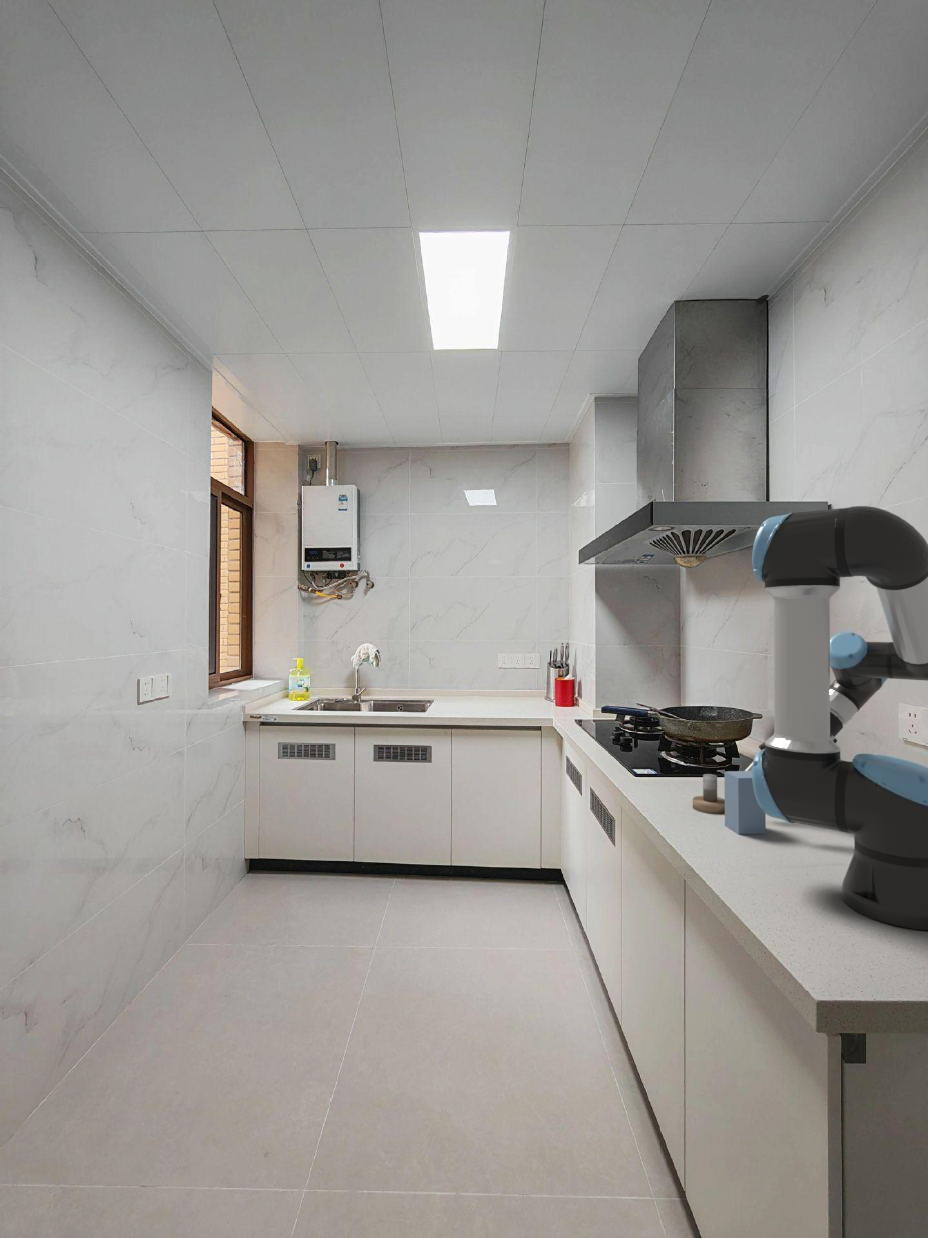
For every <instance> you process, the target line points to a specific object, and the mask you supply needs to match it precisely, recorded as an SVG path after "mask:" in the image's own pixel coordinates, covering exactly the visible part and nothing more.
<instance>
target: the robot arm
mask: <svg viewBox="0 0 928 1238" xmlns="http://www.w3.org/2000/svg"><path fill="white" fill-rule="evenodd" d="M751 555H752V557H751V559H752V560H751V562H752V567H753V568H752V569H753V575H754V577H755V579H757V580H758V581H759V582H762V583H764V591H765V593H767V594H768V595H769V596H770V597H772V599H773V603H774V604H773V605H774V607H773V608H774V609H773V610H774V611H773V613H774V614H773V615H774V617H773V619H774V620H773V621H774V624H773V625H774V627H773V628H774V631H773V633H774V636H773V638H774V641H773V643H774V647H773V648H774V655H773V656H774V657H773V660H774V663H773V665H774V667H773V668H774V671H773V672H774V675H773V676H774V677H773V678H774V682H773V683H774V685H773V686H774V687H773V688H774V694H773V695H774V699H773V700H774V702H773V703H774V704H773V705H774V715H773V717H774V721H773V722H774V728H773V729H774V732H773V734H772V735H771V736H770V737H769V738H768V739H767V740H764V742H763V743H761V744H759V746H758V748H759V749H760V750H759V751H757V752H756V753H755V756H754V758H753V760H752V763H750V765H749V766H748V767H747V768H745V770H744V771H752V780H753V788H754V793H755V797H756V800H757V802H758V804H759V806H760V807H761V809H762V810H763V812H764V813H766V815H767V816H768V817H771V818H773V819H778V820H781V821H785V822H787V823H790V824H799V825H800V824H801V825H805V826H811V827H816V828H821V829H827V830H832V831H837V832H840V833H841V832H842V833H846V834H851V835H853V836H854V852H853V854H852V858H851V860H850V862H849V865H848V868H847V870H846V872H845V876H844V878H843V880H842V886H841V887H842V888H841V889H842V890H841V892H842V894H841V895H842V900H843V901H844V903H845V904H846V905H847V906H848V907H850V908H851V909H853V910H854V911H856V912H858V913H860V914H861V915H864V916H866V917H868V918H870V919H873V920H876V921H879V922H882V923H886V924H889V925H893V926H897V927H901V928H906V929H912V930H922V931H928V767H926V766H924V765H922V764H919V763H916V762H913V761H910V760H906V759H902V758H899V757H894V756H888V755H884V754H873V753H858V754H855V755H854V757H853V759H852V761H847V760H843V759H841V747H840V746H839V745H838V744H837V742H838V739H837V738H836V736H837V735H838V734H839V733H840V732H841V731H842V729H843V728H844V725H847V724H848V722H850V721H851V720H852V719H853V717H854V716H855V715H856V714H857V713H858V712H859V711H860V710H861V709H862V708H863V707H864V705H866V703H867V702H869V700H870V699H871V698H872V697H873V696H874V695H875V694H876V693H877V692H878V691H879V690H880V689H881V688H882V687H883V686H884V684H885V683H886V681H888V679H891V680H892V679H894V680H911V681H925V682H927V681H928V542H927V540H926V539H925V537H924V536H923V535H922V534H921V533H920V531H918V529H916V528H915V527H914V526H913V525H911V524H910V522H908V521H907V520H906V519H904V518H902V517H900V516H899V515H896V514H894V513H893V512H890V511H888V510H885V509H882V508H880V507H875V506H868V505H857V506H849V507H843V508H841V507H840V508H832V509H831V508H830V509H820V510H812V511H811V510H810V511H798V512H790V513H787V514H782V515H775V516H772V517H769V518H767V519H766V520H764V521H763V522H762V523H761V525H760V526H759V528H758V530H757V532H756V534H755V538H754V541H753V546H752V554H751ZM852 577H865V578H866V580H867V581H868V582H869V583H870V584H871V585H872V586H873V587H875V588H876V591H877V594H878V597H879V600H880V603H881V608H882V610H883V613H884V616H885V620H886V623H887V624H886V625H887V626H888V630H889V633H890V637H891V640H892V641H865V639H864V638H863V637H862V636H861V635H860V634H859V633H855V632H851V631H845V632H839V633H836V634H835V635H833V636H831V633H830V631H831V626H830V625H831V619H830V618H831V615H830V614H831V612H830V611H831V608H830V607H831V605H830V602H831V598H832V596H833V595H835V594H836V593H837V592H838V591H839V590H840V589H841V578H852ZM831 670H832V672H833V675H834V677H835V679H834V681H833V682H832V683H831Z"/></svg>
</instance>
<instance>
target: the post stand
mask: <svg viewBox="0 0 928 1238" xmlns="http://www.w3.org/2000/svg"><path fill="white" fill-rule="evenodd" d="M692 808H693V810H696V811H697V812H701V813H706V814H714V815H716V814H717V815H719V814H725V798H722V797H719V796H718V775H716V774H712V773H705V774H703V775H702V795H696V796H693V798H692Z"/></svg>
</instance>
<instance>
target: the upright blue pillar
mask: <svg viewBox="0 0 928 1238" xmlns="http://www.w3.org/2000/svg"><path fill="white" fill-rule="evenodd" d="M723 774H724V799H725V813H724V826H725V827H727V828H728V829H730V830H732V831H733V832H734V833H736V834H737V835H761V834H764V835H765V834H766V831H767V829H766V827H767V826H766V825H767V821H766V818H767V817H766V815H767V814H766V813H764V812H763V810H762V809H761V807H760V806H759V804H758V802H757V800H756V797H755V793H754V788H753V780H752V771H745V770H739V771H738V770H737V771H734V770H732V771H731V770H728V771H724V773H723Z"/></svg>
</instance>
